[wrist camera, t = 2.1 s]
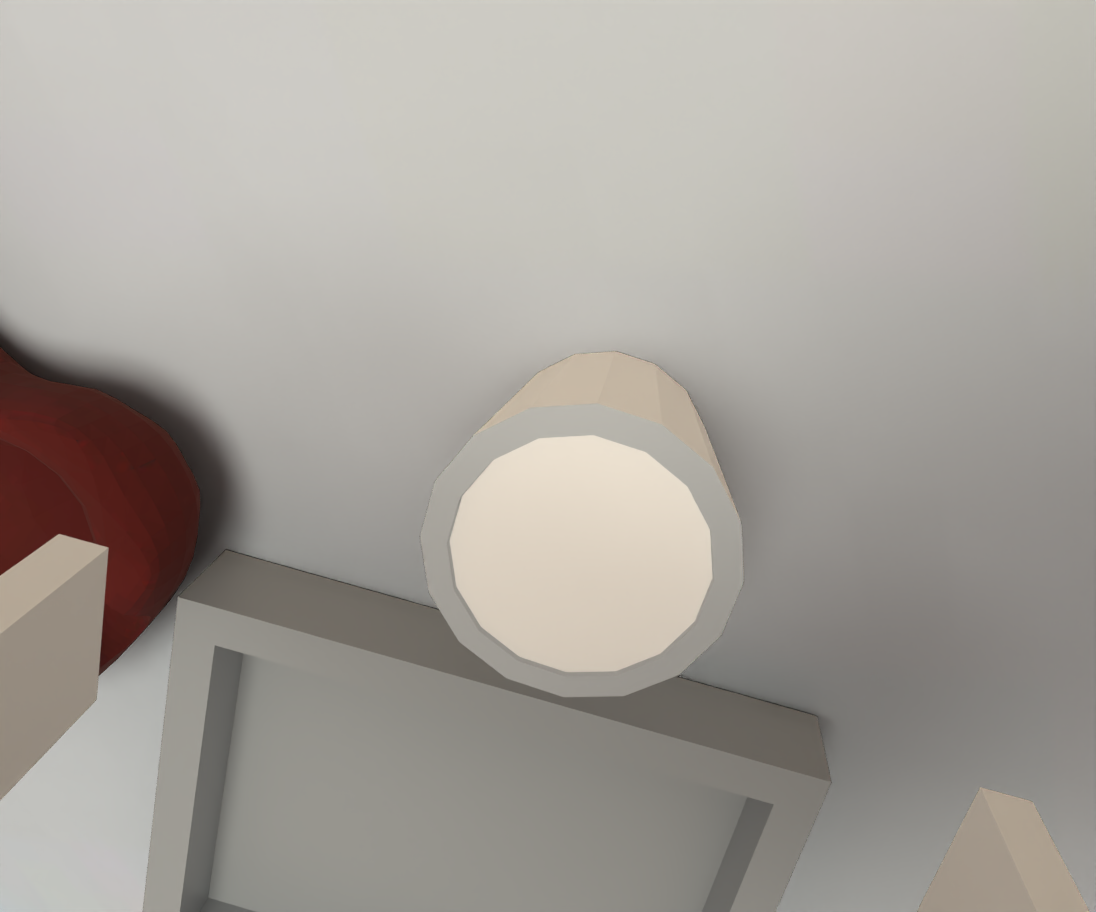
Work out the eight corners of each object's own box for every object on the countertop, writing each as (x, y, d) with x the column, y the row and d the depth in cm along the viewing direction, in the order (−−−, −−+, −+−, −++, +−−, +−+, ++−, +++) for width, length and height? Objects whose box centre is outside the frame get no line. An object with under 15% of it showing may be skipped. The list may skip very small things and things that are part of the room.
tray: (817, 716, 29) (831, 782, 26) (679, 1047, 34) (679, 1132, 31) (225, 549, 29) (177, 596, 26) (180, 900, 34) (136, 970, 32)
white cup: (523, 584, 28) (477, 727, 22) (448, 365, 26) (372, 450, 20) (755, 533, 27) (779, 669, 20) (694, 297, 25) (699, 365, 18)
